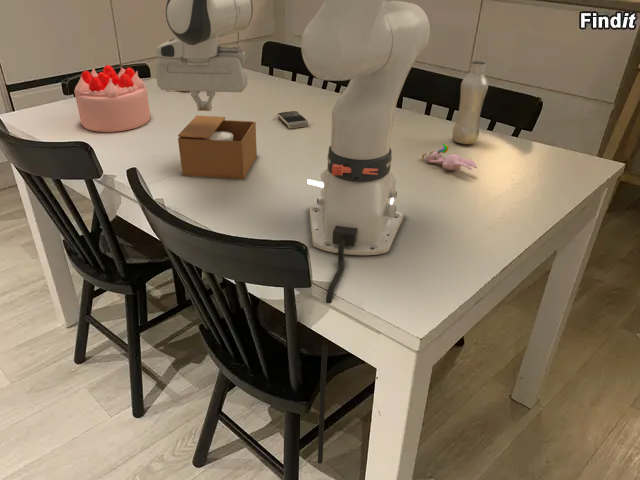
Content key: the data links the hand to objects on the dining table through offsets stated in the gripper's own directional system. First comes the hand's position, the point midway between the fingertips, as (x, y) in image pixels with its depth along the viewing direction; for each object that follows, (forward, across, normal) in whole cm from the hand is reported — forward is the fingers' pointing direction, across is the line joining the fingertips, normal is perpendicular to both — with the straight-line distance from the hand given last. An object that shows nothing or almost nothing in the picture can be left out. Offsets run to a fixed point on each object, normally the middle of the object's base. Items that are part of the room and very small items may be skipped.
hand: (204, 110), depth 128 cm
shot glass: (+13, -3, 0) cm, 14 cm away
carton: (+14, -3, 0) cm, 14 cm away
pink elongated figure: (+14, -56, -7) cm, 58 cm away
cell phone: (+14, -14, -34) cm, 39 cm away
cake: (+13, +36, -27) cm, 47 cm away
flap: (+4, +1, 0) cm, 4 cm away
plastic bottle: (+14, -62, -25) cm, 68 cm away
